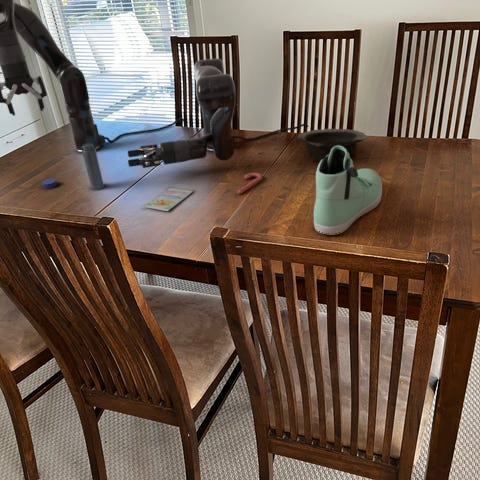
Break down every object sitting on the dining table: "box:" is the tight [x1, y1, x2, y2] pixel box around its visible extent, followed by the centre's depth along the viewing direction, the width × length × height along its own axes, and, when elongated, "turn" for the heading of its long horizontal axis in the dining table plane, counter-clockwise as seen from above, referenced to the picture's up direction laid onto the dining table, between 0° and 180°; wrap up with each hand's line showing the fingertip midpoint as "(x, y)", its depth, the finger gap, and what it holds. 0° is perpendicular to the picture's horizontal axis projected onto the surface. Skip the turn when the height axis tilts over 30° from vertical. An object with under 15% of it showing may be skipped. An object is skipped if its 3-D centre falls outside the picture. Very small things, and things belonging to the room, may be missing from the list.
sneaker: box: [313, 146, 383, 236], centre depth 133 cm, size 14×35×20 cm, turn 152°
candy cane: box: [236, 172, 263, 195], centre depth 157 cm, size 6×15×2 cm, turn 145°
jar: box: [81, 143, 105, 191], centre depth 161 cm, size 4×4×15 cm
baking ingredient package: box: [143, 187, 194, 212], centre depth 152 cm, size 9×1×15 cm
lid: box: [41, 178, 58, 190], centre depth 168 cm, size 5×5×2 cm
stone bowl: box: [296, 128, 369, 163], centre depth 173 cm, size 25×25×9 cm
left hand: (28, 112), depth 155 cm, fingers open, 8 cm apart
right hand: (128, 158), depth 162 cm, fingers open, 8 cm apart
